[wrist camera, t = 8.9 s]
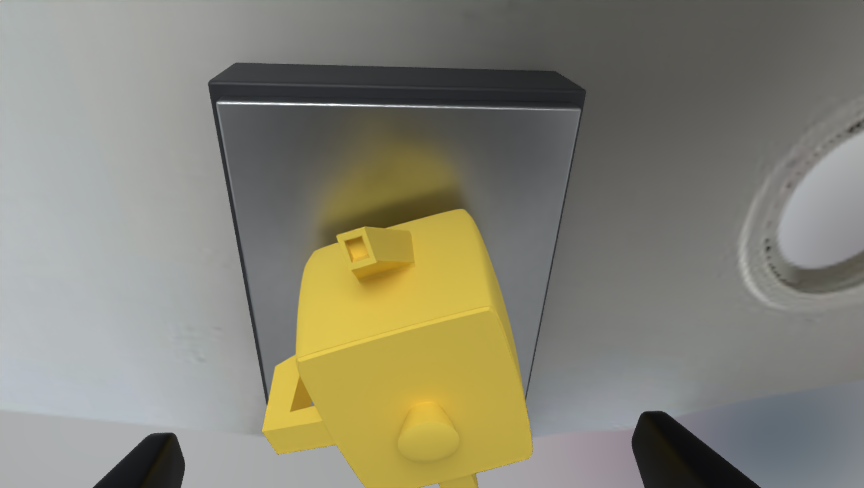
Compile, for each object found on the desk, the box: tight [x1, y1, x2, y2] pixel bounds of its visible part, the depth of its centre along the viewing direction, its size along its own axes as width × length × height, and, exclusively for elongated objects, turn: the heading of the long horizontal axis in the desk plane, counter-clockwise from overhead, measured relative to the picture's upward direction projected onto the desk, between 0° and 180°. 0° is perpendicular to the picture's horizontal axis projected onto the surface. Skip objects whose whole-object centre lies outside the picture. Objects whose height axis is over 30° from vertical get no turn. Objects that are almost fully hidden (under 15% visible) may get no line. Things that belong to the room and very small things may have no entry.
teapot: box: [262, 209, 533, 488], centre depth 11 cm, size 8×6×5 cm
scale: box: [208, 63, 586, 407], centre depth 15 cm, size 11×9×3 cm
